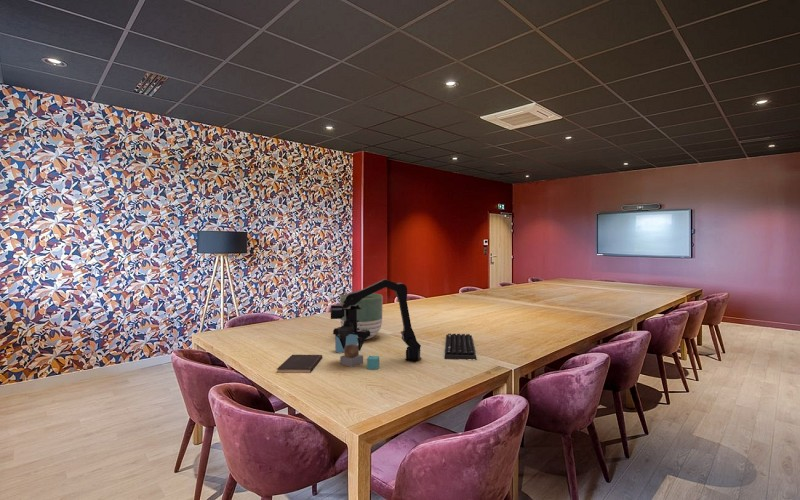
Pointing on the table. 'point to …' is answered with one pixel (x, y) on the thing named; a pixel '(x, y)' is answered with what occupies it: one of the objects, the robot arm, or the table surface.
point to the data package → (349, 340)
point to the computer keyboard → (459, 347)
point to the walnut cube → (351, 351)
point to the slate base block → (351, 360)
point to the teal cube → (373, 362)
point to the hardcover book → (300, 363)
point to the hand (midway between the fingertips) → (351, 349)
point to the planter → (367, 313)
